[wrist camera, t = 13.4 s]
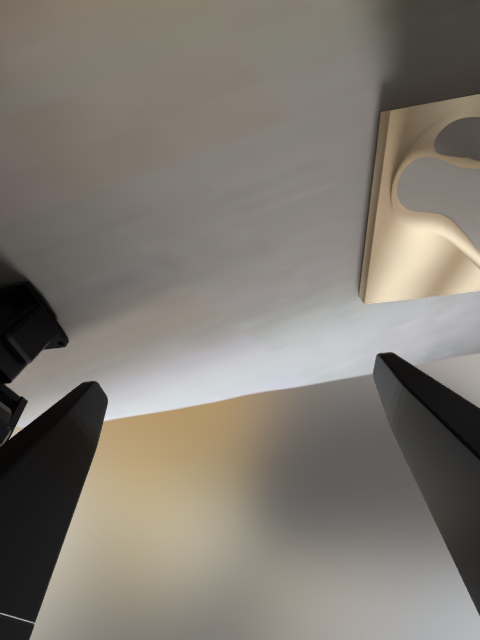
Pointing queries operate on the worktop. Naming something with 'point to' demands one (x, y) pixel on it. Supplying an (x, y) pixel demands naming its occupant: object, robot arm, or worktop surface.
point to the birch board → (400, 240)
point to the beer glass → (443, 183)
